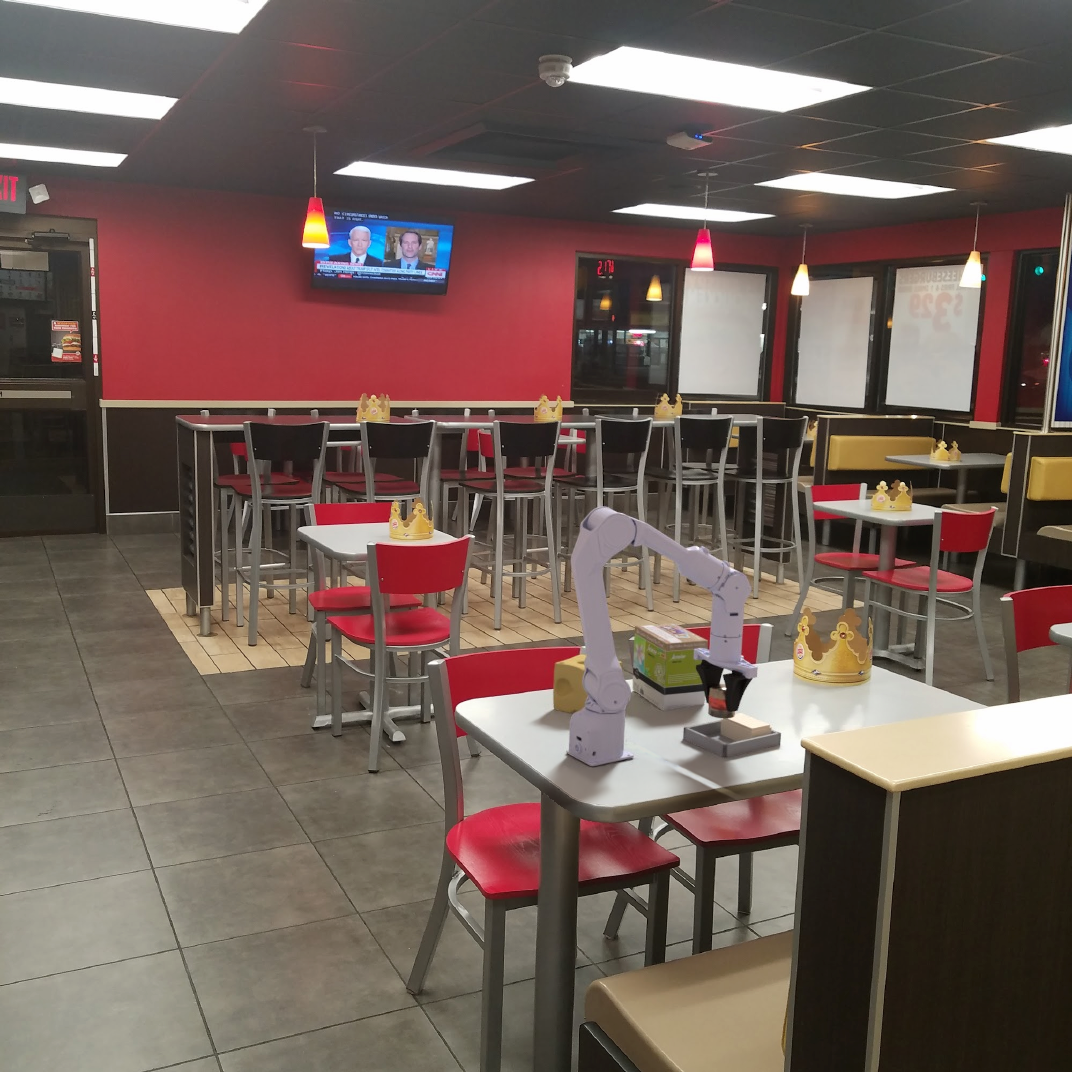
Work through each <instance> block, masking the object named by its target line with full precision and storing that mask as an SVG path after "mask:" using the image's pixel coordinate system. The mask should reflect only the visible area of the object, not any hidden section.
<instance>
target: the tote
mask: <svg viewBox="0 0 1072 1072" xmlns="http://www.w3.org/2000/svg"><path fill="white" fill-rule="evenodd" d="M682 733H683V735H682V739H683V740H685V741H686V742H688V743H691V744H693V745H694V746H695V745H696V746H698V747H700V748H702V749H703V750H707V751H708V752H710V753H713V754H714V755H715V754H716V755H717V756H720V757H722V758H723V759H725V758H730V757H733V756H738V755H743V754H748V753H751V752H756V751H760V750H765V749H768V748H773V747H777V746H780V745H781V741H782V740H781V739H782V732H779V731H777V730H774V729H772V728H771V734H768V735H764V736H759V737H755V738H750V739H746V740H742V741H735V740H732V739H730V738H728V737H725V736H723V735H721V719H719V720H713V721H710V722H709V721H708V722H704V723H698V724H695V725H689V726H685V727H683V731H682Z"/></svg>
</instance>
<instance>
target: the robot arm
mask: <svg viewBox="0 0 1072 1072" xmlns="http://www.w3.org/2000/svg"><path fill="white" fill-rule="evenodd" d="M628 546H633V547H639V546H646V547H647V548H649V549H651V550H652V551H655V552H656V553H658V554H660V555H661V556H663V557H665V558H667V559H669V560H670V561H672V562H674V563H675V564H676V566H677V570H678V573H679V574H680V575H681V576H683V577H684V578H686V579H688V580H690V581H691V582H693V583H694V584H697V585H698V586H700V587H701V588H704V589H705V590H707V591H709V592H710V594H711V595H712V602H711V613H710V614H711V617H710V618H711V619H710V634H709V635H710V637H709V649H708V650H707V649H703V648H698V649H694V658H693V659H695V660H702V663H701V664H699V665H696V670H697V672H698V674H699V676H700V678H701V681H702V684H703V688H704V693H705V702H706V704H709V691H710V686H711V685H713V684H721V680H722V679H723V681H724V684H725V686H726V695H727V697H726V706H727V711H728V712H734V711H735V712H737V711H738V710H739V708H740V705H741V702H742V698H743V695H744V694H745V691H746V690H747V688H748V687H749V685H750V683H751V682H752V680H753V679H756V678H758V666H756V665H754V664H751V663H750V662H749V661H747V660H745V659H744V656H745V655H742V648H743V647H742V646H743V633H744V632H743V631H744V630H743V629H744V617H745V616H744V614H745V602H746V600H748V598H749V597H750V596H751V593H752V588H753V587H752V586H750V580H749V579H748V577H747V575H746V574H744V573H743V572H741V571H738V570H736V569H734V568H732V567H730V565H731V563H730V562H728V561H727V560H724V559H723V560H721V559H719V558H717V557H715V556H714V555H712V554H711V553H710V551H711V550H710V549H708V547H705V546H703V545H701V546H700V547H699V546H698V545H692V546H690V547H689V546H688V547H684V545H682V544H680V543H678V542H677V541H675V540H674V539H672V538H671V537H669V536H667V535H666V534H665V533H662V532H661V531H660V530H658V529H656V528H655V527H654V526H652V525H650V524H649V523H648V522H647V523H646V522H644V521H642V520H639V519H637V518H635V517H632V516H629V515H628V514H625V513H621V512H617V511H615V510H614V509H612V508H610V507H608V506H598V507H595V508H594V509H591V511H590V512H588V514H587V515H586V516H585V517H584V518H583V520H581V522H580V526H579V534H578V535H577V540H576V542H575V545H574V547H573V551H572V553H571V556H570V567H571V572H572V578H573V584H574V588H575V589H574V590H575V597H576V601H577V606H578V612H579V613H578V614H579V619H580V623H581V624H580V625H581V630H582V637H583V642H584V649H585V655H587V656H586V658H585V660H584V665H585V672H584V675H583V680H582V684H583V688H584V690H585V691H586V693H587V694H588V697H587V699H586V702H585V706H584V708H583V709H581V710H580V711H577V712H575V713H572V715H571V717H570V720H569V733H568V735H569V736H568V741H569V742H568V749H566V752H565V753H566V754H567V755H569V756H571V757H573V758H575V759H577V760H578V761H581V762H582V763H584V764H586V765H588V766H590V767H596V766H600V765H606V764H610V763H614V762H619V761H623V760H629V759H633V758H634V757H635V756H634V754H633V753H632V752H629V751H628V750H625V748H624V747H625V730H626V729H625V726H626V710H627V709H626V708H627V705H628V704H629V702H630V700H631V697H632V691H631V690H632V689H631V687H630V684H629V683H628V682H627V680H626V678H625V677H624V673H623V674H622V669H621V666H620V664H619V661H620V660H619V659H618V657H617V654H616V648H615V642H614V636H613V630H612V625H611V617H610V612H609V606H608V600H607V593H606V589H605V582H604V577H603V576H604V575H603V571H602V570H603V568H604V566H605V565H606V564H607V563H608V561H610V559H611V558H612V557H614V556H615V555H617V554H618V553H620V552H621V551H623V550H624V549H626V548H627V547H628ZM724 670H727V671H730V672H729V673H724ZM723 673H724V674H723Z"/></svg>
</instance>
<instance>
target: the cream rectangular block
mask: <svg viewBox="0 0 1072 1072" xmlns="http://www.w3.org/2000/svg"><path fill="white" fill-rule="evenodd" d="M720 720H721V735H723V736H725V737H728V738H730V739H732V740H735V741H742V740H746V739H750V738H755V737H759V736H764V735H768V734H771V729H772V727H771V724H769V723H767V722H764V721H762V720H759V719H757V718H755V717H751V716H749V715H747V714H745V713H741V712H740V713H739V712H738V713H735V716H734V717H733V718H720Z"/></svg>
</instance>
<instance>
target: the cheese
mask: <svg viewBox="0 0 1072 1072" xmlns="http://www.w3.org/2000/svg"><path fill="white" fill-rule="evenodd" d="M586 656H587V654H583V653H582V654H578V655H575V656H573V657H571V658H567V659H564V660H561V661H557V662H555V663H554V669H553V691H552V692H553V693H552V695H553V696H552V700H553V704H552V705H553V709H554V710H556V711H560V712H564V713H568V714H574V713H575V712H577V711H580V710H581V709H583V708H584V706H585V702H586V699H587V697H588V694H587V693H586V691H585V690H584V688H583V684H582V680H583V675H584V672H585V665H584V660H585V658H586ZM618 661H619V664H620V666H621V669H622V674H623V675H624V671H623V662H622V661H621V660H618Z"/></svg>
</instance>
